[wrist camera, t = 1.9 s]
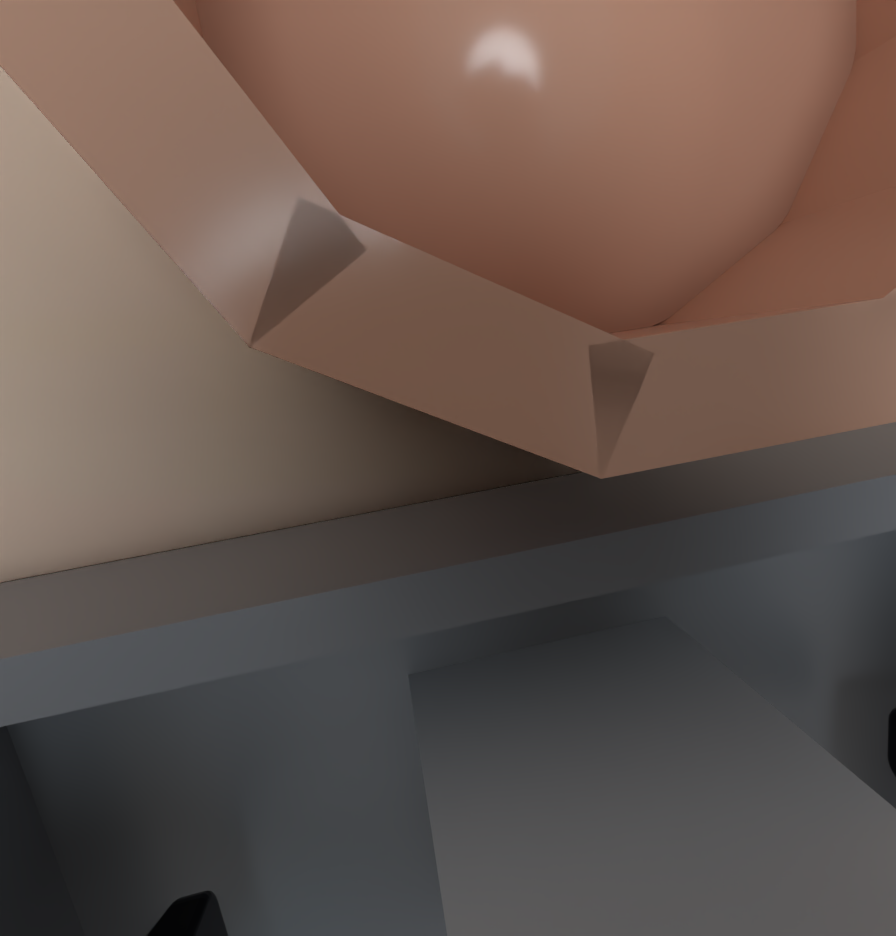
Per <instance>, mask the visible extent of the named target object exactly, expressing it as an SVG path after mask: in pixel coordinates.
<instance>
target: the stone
mask: <svg viewBox="0 0 896 936" xmlns="http://www.w3.org/2000/svg"><path fill="white" fill-rule="evenodd" d="M408 678H409V685H410V691H411V698H412V705H413V711H414V718H415V725H416V731H417V738H418V744H419V751H420V758H421V764H422V771H423V778H424V784H425V791H426V798H427V804H428V811H429V818H430V824H431V831H432V838H433V844H434V851H435V858H436V864H437V871H438V878H439V884H440V891H441V898H442V904H443V911H444V918H445V924H446V931H447V936H896V809H895V808H894V807H893V806H892V805H891V804H889V803H888V802H887V801H886V800H885V799H883V798H882V797H881V796H880V795H879V794H877V793H876V792H875V791H874V790H873V789H871V788H870V787H869V786H868V785H867V784H865V783H864V782H863V781H862V780H861V779H859V778H858V777H857V776H856V775H855V774H854V773H852V772H851V771H850V770H849V769H848V768H846V767H845V766H844V765H843V764H842V763H840V762H839V761H838V760H837V759H836V758H834V757H833V756H832V755H831V754H830V753H828V752H827V751H826V750H825V749H824V748H822V747H821V746H820V745H819V744H818V743H817V742H815V741H814V740H813V739H812V738H811V737H809V736H808V735H807V734H806V733H805V732H803V731H802V730H801V729H800V728H799V727H797V726H796V725H795V724H794V723H793V722H791V721H790V720H789V719H788V718H787V717H785V716H784V715H783V714H782V713H781V712H780V711H778V710H777V709H776V708H775V707H774V706H772V705H771V704H770V703H769V702H768V701H766V700H765V699H764V698H763V697H762V696H760V695H759V694H758V693H757V692H756V691H754V690H753V689H752V688H751V687H750V686H748V685H747V684H746V683H745V682H744V681H743V680H741V679H740V678H739V677H738V676H737V675H735V674H734V673H733V672H732V671H731V670H729V669H728V668H727V667H726V666H725V665H723V664H722V663H721V662H720V661H719V660H717V659H716V658H715V657H714V656H713V655H712V654H710V653H709V652H708V651H707V650H706V649H704V648H703V647H702V646H701V645H700V644H698V643H697V642H696V641H695V640H694V639H692V638H691V637H690V636H689V635H688V634H686V633H685V632H684V631H683V630H682V629H680V628H679V627H678V626H677V625H676V624H675V623H673V622H672V621H671V620H670V619H669V618H667V617H666V616H663V617H659V618H654V619H650V620H646V621H641V622H637V623H633V624H628V625H624V626H619V627H615V628H611V629H606V630H602V631H598V632H593V633H589V634H584V635H580V636H576V637H571V638H567V639H563V640H558V641H554V642H549V643H545V644H541V645H536V646H532V647H528V648H523V649H519V650H514V651H510V652H506V653H501V654H497V655H493V656H488V657H484V658H479V659H475V660H471V661H466V662H462V663H458V664H453V665H449V666H444V667H440V668H436V669H431V670H427V671H423V672H418V673H414V674H410V675H408Z"/></svg>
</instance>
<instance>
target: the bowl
mask: <svg viewBox="0 0 896 936" xmlns="http://www.w3.org/2000/svg"><path fill="white" fill-rule="evenodd" d="M0 66H1V67H2V68H3V69H4V70H5V72H6V73H7V74H8V75H9V76H10V77H11V78H12V79H13V81H14V82H15V83H16V84H17V85H18V86H19V87H20V89H21V90H22V91H23V92H24V93H25V94H26V95H27V96H28V98H29V99H30V100H31V101H32V102H33V103H34V104H35V105H36V107H37V108H38V109H39V110H40V111H41V112H42V113H43V115H44V116H45V117H46V118H47V119H48V120H49V121H50V122H51V124H52V125H53V126H54V127H55V128H56V129H57V130H58V131H59V133H60V134H61V135H62V136H63V137H64V138H65V139H66V140H67V142H68V143H69V144H70V145H71V146H72V147H73V148H74V150H75V151H76V152H77V153H78V154H79V155H80V156H81V157H82V159H83V160H84V161H85V162H86V163H87V164H88V165H89V166H90V168H91V169H92V170H93V171H94V172H95V173H96V174H97V176H98V177H99V178H100V179H101V180H102V181H103V182H104V183H105V185H106V186H107V187H108V188H109V189H110V190H111V191H112V192H113V194H114V195H115V196H116V197H117V198H118V199H119V200H120V201H121V203H122V204H123V205H124V206H125V207H126V208H127V209H128V211H129V212H130V213H131V214H132V215H133V216H134V217H135V218H136V220H137V221H138V222H139V223H140V224H141V225H142V226H143V227H144V229H145V230H146V231H147V232H148V233H149V234H150V235H151V237H152V238H153V239H154V240H155V241H156V242H157V243H158V244H159V246H160V247H161V248H162V249H163V250H164V251H165V252H166V253H167V255H168V256H169V257H170V258H171V259H172V260H173V261H174V263H175V264H176V265H177V266H178V267H179V268H180V269H181V270H182V272H183V273H184V274H185V275H186V276H187V277H188V278H189V279H190V281H191V282H192V283H193V284H194V285H195V286H196V287H197V288H198V290H199V291H200V292H201V293H202V294H203V295H204V296H205V298H206V299H207V300H208V301H209V302H210V303H211V304H212V305H213V307H214V308H215V309H216V310H217V311H218V312H219V313H220V314H221V316H222V317H223V318H224V319H225V320H226V321H227V322H228V324H229V325H230V326H231V327H232V328H233V329H234V330H235V331H236V333H237V334H238V335H239V336H240V337H241V338H242V339H243V340H244V342H245V343H246V344H247V345H248V346H249V347H250V348H253V349H256V350H259V351H261V352H264V353H267V354H269V355H272V356H275V357H277V358H280V359H283V360H285V361H288V362H291V363H293V364H296V365H299V366H301V367H304V368H307V369H309V370H312V371H315V372H317V373H320V374H323V375H325V376H328V377H331V378H333V379H336V380H339V381H341V382H344V383H347V384H349V385H352V386H355V387H357V388H360V389H363V390H365V391H368V392H371V393H373V394H376V395H379V396H381V397H384V398H387V399H389V400H392V401H395V402H397V403H400V404H403V405H405V406H408V407H411V408H413V409H416V410H419V411H421V412H424V413H427V414H429V415H432V416H435V417H438V418H440V419H443V420H446V421H448V422H451V423H454V424H456V425H459V426H462V427H464V428H467V429H470V430H472V431H475V432H478V433H480V434H483V435H486V436H488V437H491V438H494V439H496V440H499V441H502V442H504V443H507V444H510V445H512V446H515V447H518V448H520V449H523V450H526V451H528V452H531V453H534V454H536V455H539V456H542V457H544V458H547V459H550V460H552V461H555V462H558V463H560V464H563V465H566V466H568V467H571V468H574V469H576V470H579V471H582V472H584V473H587V474H590V475H592V476H595V477H598V478H600V479H603V478H608V477H614V476H619V475H624V474H629V473H634V472H640V471H645V470H650V469H655V468H660V467H665V466H671V465H676V464H681V463H686V462H691V461H696V460H702V459H707V458H712V457H717V456H722V455H728V454H733V453H738V452H743V451H748V450H753V449H759V448H764V447H769V446H774V445H779V444H784V443H790V442H795V441H800V440H805V439H810V438H816V437H821V436H826V435H831V434H836V433H841V432H847V431H852V430H857V429H862V428H867V427H872V426H878V425H883V424H888V423H893V422H896V0H0Z"/></svg>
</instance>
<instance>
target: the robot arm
mask: <svg viewBox="0 0 896 936" xmlns="http://www.w3.org/2000/svg"><path fill="white" fill-rule="evenodd" d="M887 758H888V763H889V766H890V768H891V770H892V772H893V774H894V775H895V777H896V708H894V709H892V710H891V712H890V713H889V717H888V748H887ZM147 936H228V933H227V929H226V926H225V923H224V919H223V916H222V913H221V910H220V906H219V903H218V900H217V897H216V895H215V894H214V893H213V892H212V891H207V890H206V891H202V892H199V893H195V894H191V895H188V896H184V897H180V898H178V899H177V900H175V901H174V902H173V903H172V904H171V905H170V906H169V907H168V909H167V910H166V911H165V912H164V914H163V915H162V916H161V918H160V919H159V920H158V921H157V923H156V924H155V925H154V927H153V928H152V929H151V931H150V932H149V933H148V934H147Z"/></svg>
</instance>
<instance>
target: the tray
mask: <svg viewBox="0 0 896 936" xmlns="http://www.w3.org/2000/svg"><path fill="white" fill-rule="evenodd" d="M663 616H666V617H667V618H669V619H670V620H671V621H672V622H673V623H675V624H676V625H677V626H678V627H679V628H680V629H682V630H683V631H684V632H685V633H686V634H688V635H689V636H690V637H691V638H692V639H694V640H695V641H696V642H697V643H698V644H700V645H701V646H702V647H703V648H704V649H706V650H707V651H708V652H709V653H710V654H712V655H713V656H714V657H715V658H716V659H717V660H719V661H720V662H721V663H722V664H723V665H725V666H726V667H727V668H728V669H729V670H731V671H732V672H733V673H734V674H735V675H737V676H738V677H739V678H740V679H741V680H743V681H744V682H745V683H746V684H747V685H748V686H750V687H751V688H752V689H753V690H754V691H756V692H757V693H758V694H759V695H760V696H762V697H763V698H764V699H765V700H766V701H768V702H769V703H770V704H771V705H772V706H774V707H775V708H776V709H777V710H778V711H780V712H781V713H782V714H783V715H784V716H785V717H787V718H788V719H789V720H790V721H791V722H793V723H794V724H795V725H796V726H797V727H799V728H800V729H801V730H802V731H803V732H805V733H806V734H807V735H808V736H809V737H811V738H812V739H813V740H814V741H815V742H817V743H818V744H819V745H820V746H821V747H822V748H824V749H825V750H826V751H827V752H828V753H830V754H831V755H832V756H833V757H834V758H836V759H837V760H838V761H839V762H840V763H842V764H843V765H844V766H845V767H846V768H848V769H849V770H850V771H851V772H852V773H854V774H855V775H856V776H857V777H858V778H859V779H861V780H862V781H863V782H864V783H865V784H867V785H868V786H869V787H870V788H871V789H873V790H874V791H875V792H876V793H877V794H879V795H880V796H881V797H882V798H883V799H885V800H886V801H887V802H888V803H889V804H891V805H892V806H893V807H894V808H895V809H896V777H895V775H894V774H893V772H892V770H891V768H890V766H889V763H888V758H887V748H888V717H889V713H890V712H891V710H892V709H894V708H896V422H893V423H888V424H883V425H878V426H872V427H867V428H862V429H857V430H852V431H847V432H841V433H836V434H831V435H826V436H821V437H816V438H810V439H805V440H800V441H795V442H790V443H784V444H779V445H774V446H769V447H764V448H759V449H753V450H748V451H743V452H738V453H733V454H728V455H722V456H717V457H712V458H707V459H702V460H696V461H691V462H686V463H681V464H676V465H671V466H665V467H660V468H655V469H650V470H645V471H640V472H634V473H629V474H624V475H619V476H614V477H608V478H603V479H600V478H598V477H595V476H592V475H590V474H587V473H584V472H581V473H575V474H570V475H565V476H560V477H554V478H549V479H544V480H539V481H533V482H528V483H523V484H518V485H512V486H507V487H502V488H497V489H491V490H486V491H481V492H476V493H470V494H465V495H460V496H455V497H450V498H444V499H439V500H434V501H429V502H423V503H418V504H413V505H408V506H402V507H397V508H392V509H387V510H381V511H376V512H371V513H366V514H360V515H355V516H350V517H345V518H339V519H334V520H329V521H324V522H318V523H313V524H308V525H303V526H297V527H292V528H287V529H282V530H277V531H271V532H266V533H261V534H256V535H250V536H245V537H240V538H235V539H229V540H224V541H219V542H214V543H208V544H203V545H198V546H193V547H187V548H182V549H177V550H172V551H166V552H161V553H156V554H151V555H145V556H140V557H135V558H130V559H124V560H119V561H114V562H109V563H104V564H98V565H93V566H88V567H83V568H77V569H72V570H67V571H62V572H56V573H51V574H46V575H41V576H35V577H30V578H25V579H20V580H14V581H9V582H4V583H0V936H147V934H148V933H149V932H150V931H151V929H152V928H153V927H154V925H155V924H156V923H157V921H158V920H159V919H160V918H161V916H162V915H163V914H164V912H165V911H166V910H167V909H168V907H169V906H170V905H171V904H172V903H173V902H174V901H175V900H177V899H178V898H180V897H184V896H188V895H191V894H195V893H199V892H202V891H206V890H207V891H212V892H213V893H214V894H215V895H216V897H217V900H218V903H219V906H220V910H221V913H222V916H223V919H224V923H225V926H226V929H227V933H228V936H447V931H446V924H445V918H444V911H443V904H442V898H441V891H440V884H439V878H438V871H437V864H436V858H435V851H434V844H433V838H432V831H431V824H430V818H429V811H428V804H427V798H426V791H425V784H424V778H423V771H422V764H421V758H420V751H419V744H418V738H417V731H416V725H415V718H414V711H413V705H412V698H411V691H410V685H409V678H408V675H410V674H414V673H418V672H423V671H427V670H431V669H436V668H440V667H444V666H449V665H453V664H458V663H462V662H466V661H471V660H475V659H479V658H484V657H488V656H493V655H497V654H501V653H506V652H510V651H514V650H519V649H523V648H528V647H532V646H536V645H541V644H545V643H549V642H554V641H558V640H563V639H567V638H571V637H576V636H580V635H584V634H589V633H593V632H598V631H602V630H606V629H611V628H615V627H619V626H624V625H628V624H633V623H637V622H641V621H646V620H650V619H654V618H659V617H663Z"/></svg>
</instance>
